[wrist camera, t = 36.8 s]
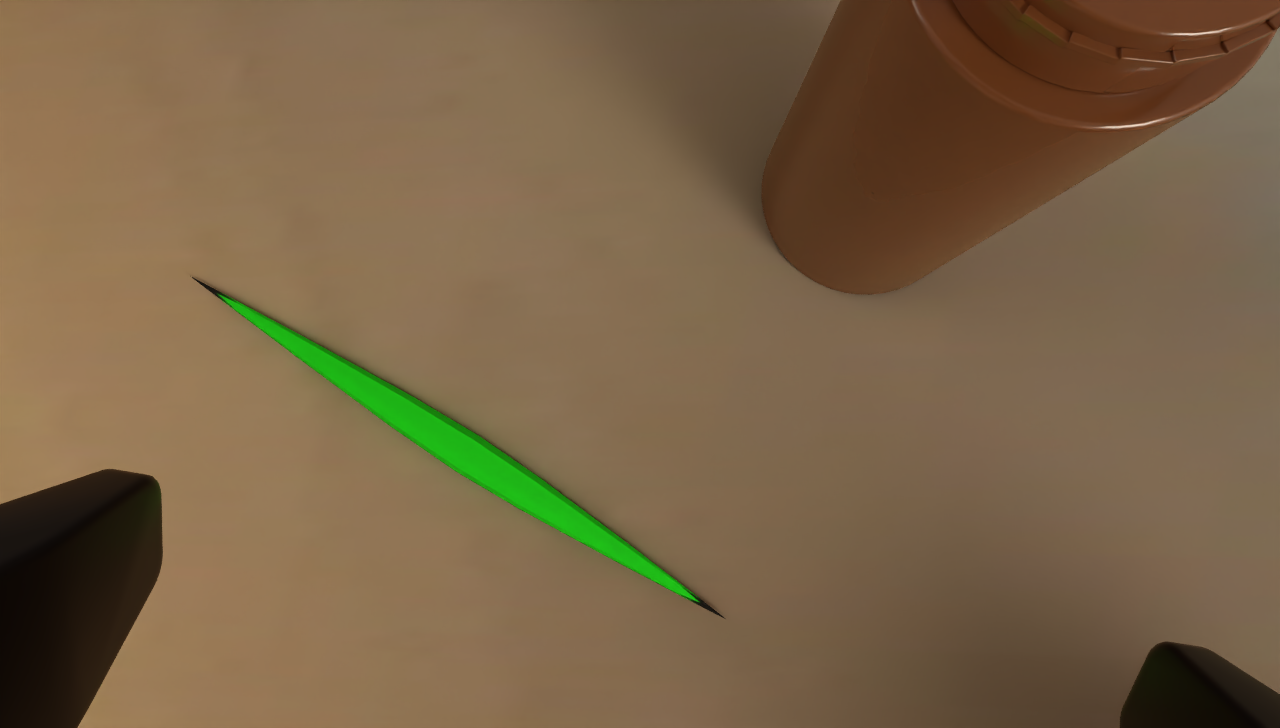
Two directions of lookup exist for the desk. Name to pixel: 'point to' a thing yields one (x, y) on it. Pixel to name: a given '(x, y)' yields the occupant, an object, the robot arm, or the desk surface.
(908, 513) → the desk surface
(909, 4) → the jar
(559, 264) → the desk surface
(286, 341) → the leaf
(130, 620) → the robot arm
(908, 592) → the desk surface
